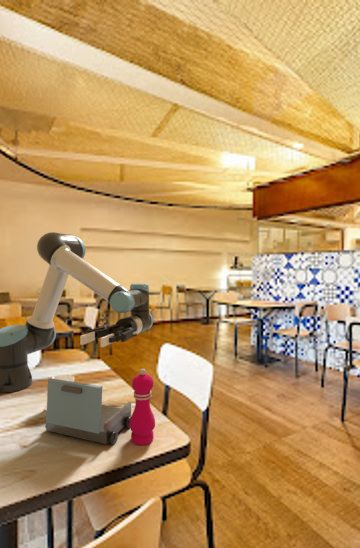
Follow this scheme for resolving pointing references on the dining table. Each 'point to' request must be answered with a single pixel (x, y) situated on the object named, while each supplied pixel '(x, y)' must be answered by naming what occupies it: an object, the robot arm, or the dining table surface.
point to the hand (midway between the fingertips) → (91, 341)
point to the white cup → (64, 377)
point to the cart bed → (110, 425)
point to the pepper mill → (142, 410)
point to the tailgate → (74, 405)
